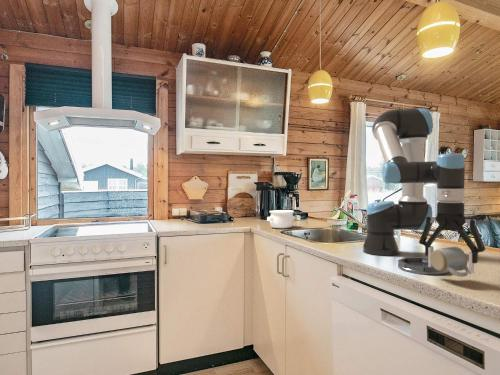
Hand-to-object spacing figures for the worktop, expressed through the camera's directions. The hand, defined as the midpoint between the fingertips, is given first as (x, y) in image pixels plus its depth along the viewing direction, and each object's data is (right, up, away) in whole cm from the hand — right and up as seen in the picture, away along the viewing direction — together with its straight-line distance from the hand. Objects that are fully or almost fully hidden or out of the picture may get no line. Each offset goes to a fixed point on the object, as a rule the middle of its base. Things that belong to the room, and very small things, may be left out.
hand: (450, 269), depth 105 cm
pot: (-42, -3, +130) cm, 137 cm away
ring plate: (-1, -4, +15) cm, 16 cm away
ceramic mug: (0, -1, -1) cm, 1 cm away
